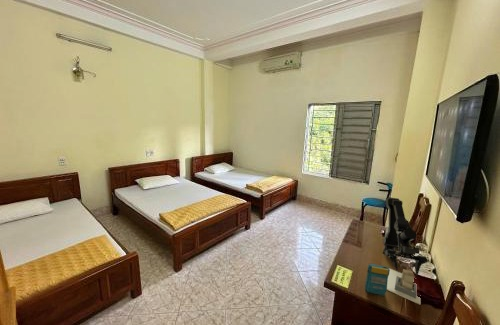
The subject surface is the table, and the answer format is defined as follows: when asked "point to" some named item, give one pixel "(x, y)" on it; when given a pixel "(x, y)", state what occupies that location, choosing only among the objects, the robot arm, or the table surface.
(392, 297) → the table surface
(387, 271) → the handheld gaming console
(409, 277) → the birch post
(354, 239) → the table surface
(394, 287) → the pocket board
